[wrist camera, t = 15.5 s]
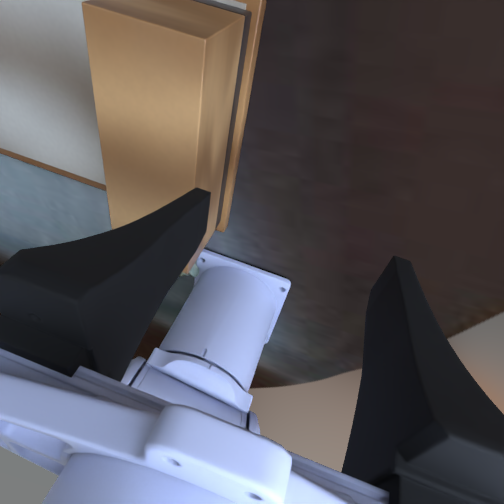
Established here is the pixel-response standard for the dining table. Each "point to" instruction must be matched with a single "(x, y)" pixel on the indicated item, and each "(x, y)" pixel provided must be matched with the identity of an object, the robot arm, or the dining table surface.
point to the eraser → (165, 100)
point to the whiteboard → (75, 90)
